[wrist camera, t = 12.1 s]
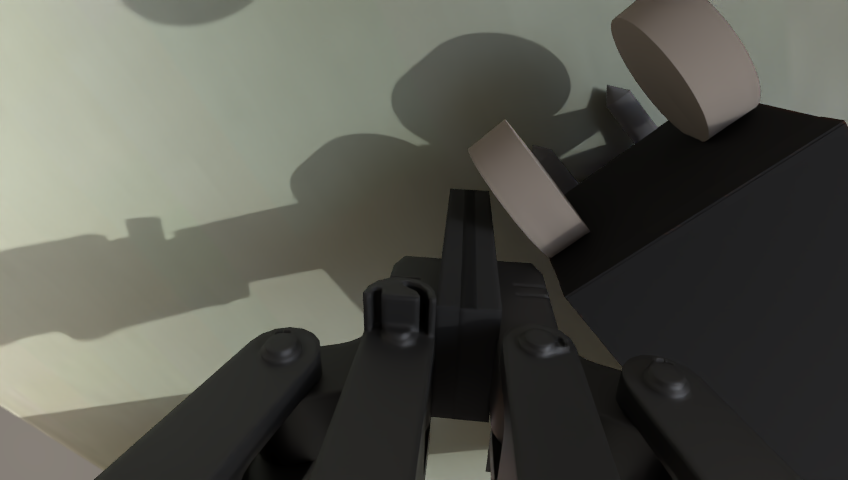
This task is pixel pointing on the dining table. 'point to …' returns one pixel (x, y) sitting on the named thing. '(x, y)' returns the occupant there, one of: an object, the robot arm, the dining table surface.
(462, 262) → the robot arm
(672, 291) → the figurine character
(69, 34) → the dining table surface
